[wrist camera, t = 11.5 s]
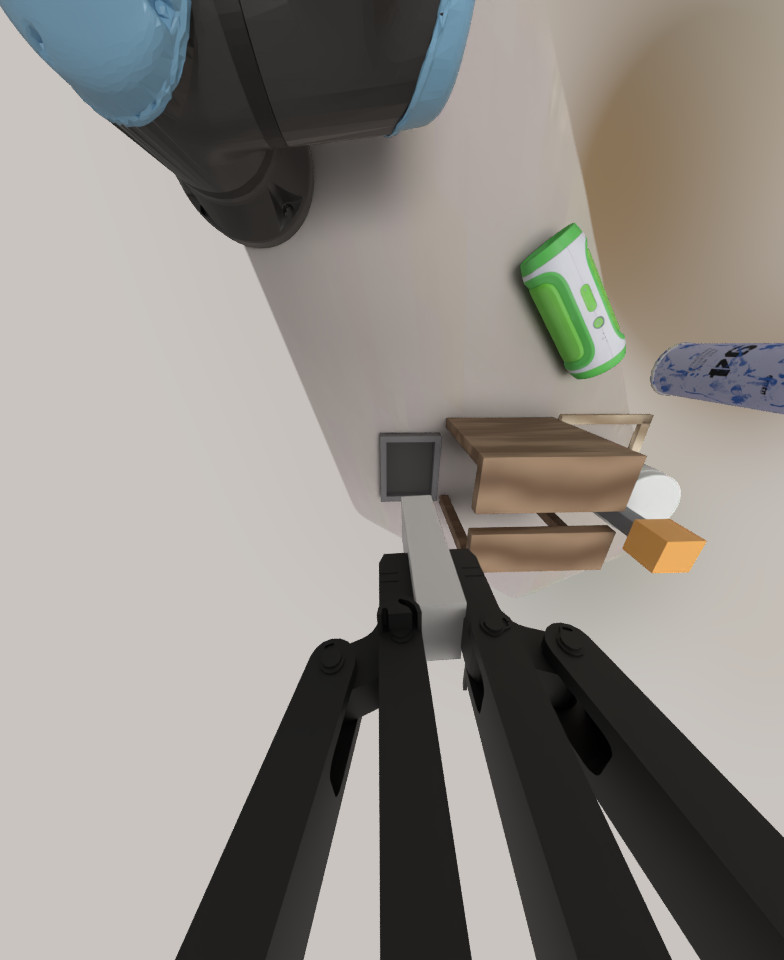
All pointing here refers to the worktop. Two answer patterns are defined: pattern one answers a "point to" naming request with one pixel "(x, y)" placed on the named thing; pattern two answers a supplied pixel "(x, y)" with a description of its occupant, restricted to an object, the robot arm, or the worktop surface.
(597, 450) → the walnut tunnel
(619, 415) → the frame
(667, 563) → the slider
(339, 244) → the worktop surface
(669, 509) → the supplement tub
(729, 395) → the aerosol can
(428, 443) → the tray
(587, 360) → the speaker
